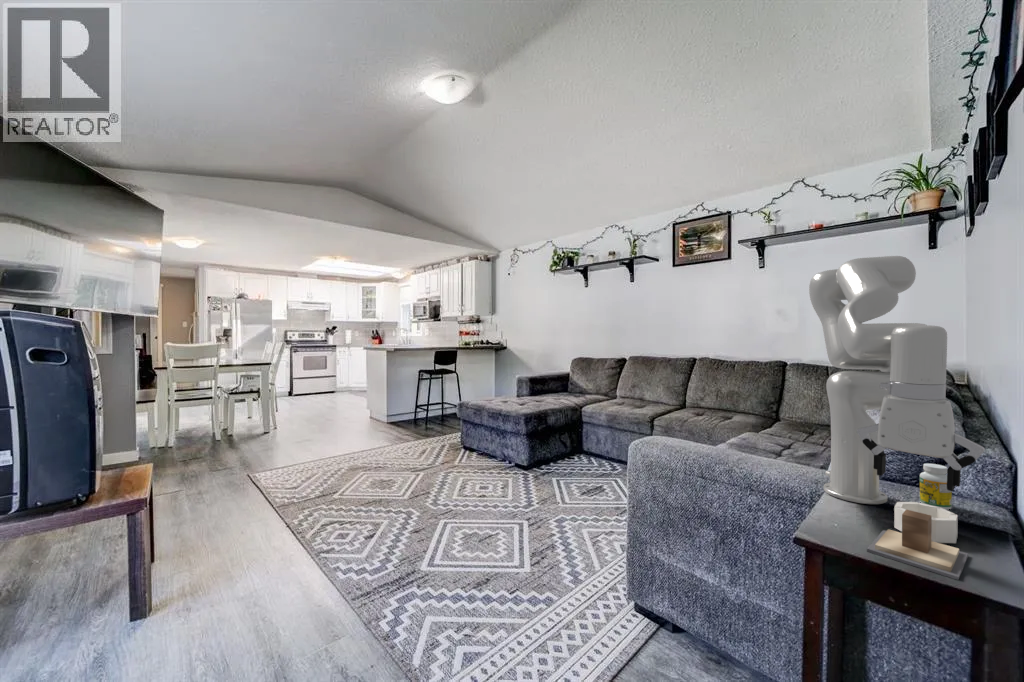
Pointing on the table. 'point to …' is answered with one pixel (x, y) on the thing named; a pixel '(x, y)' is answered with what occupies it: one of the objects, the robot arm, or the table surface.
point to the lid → (918, 542)
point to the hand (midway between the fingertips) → (914, 481)
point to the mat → (954, 572)
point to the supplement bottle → (935, 486)
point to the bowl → (941, 520)
